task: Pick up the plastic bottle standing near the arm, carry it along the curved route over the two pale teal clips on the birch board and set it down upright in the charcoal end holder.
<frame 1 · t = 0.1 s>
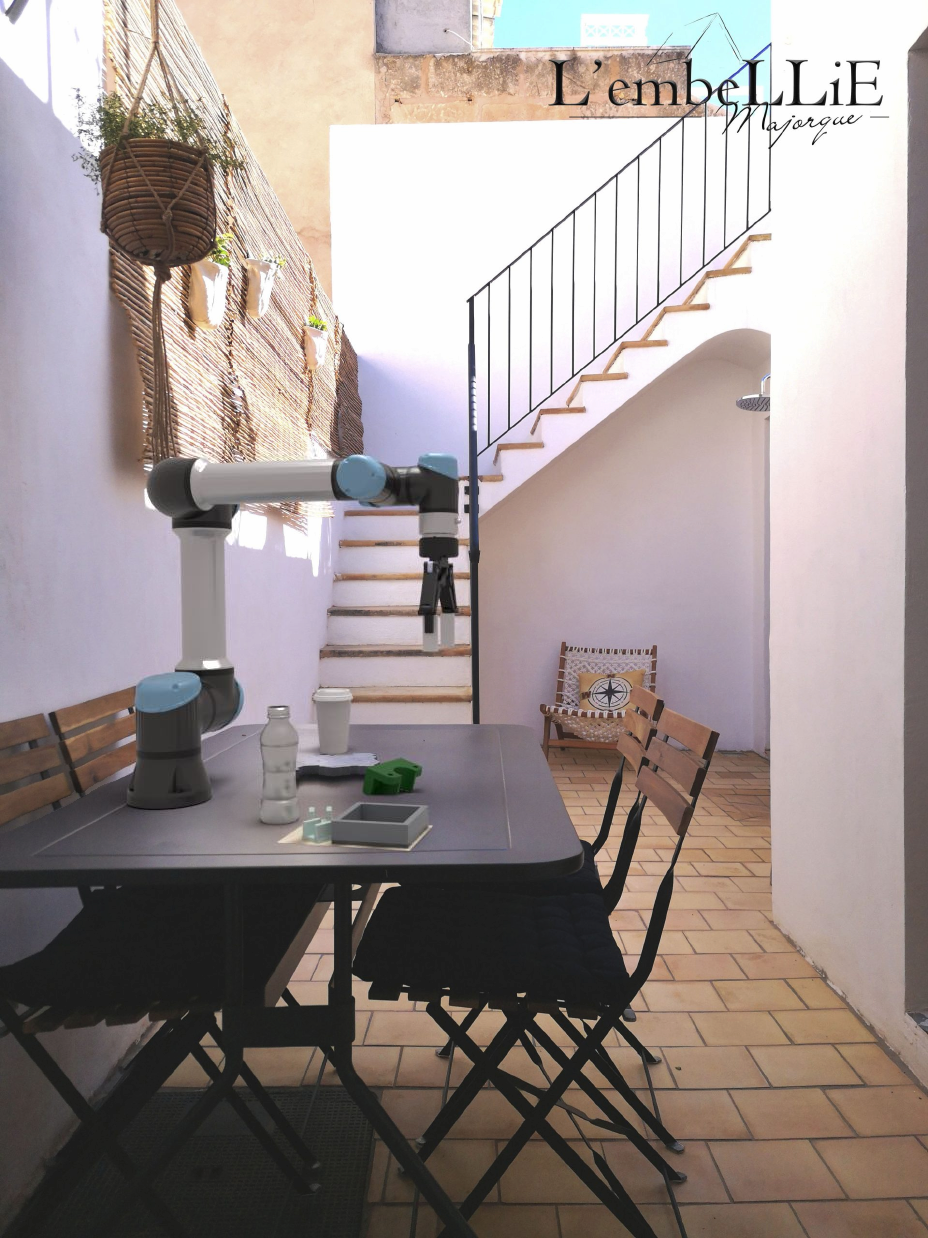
hand: (439, 649, 168), 28 cm above the table, fingers open, 13 cm apart
coffee cup: (333, 752, 215), on the table
board: (357, 840, 139), on the table
clamp: (393, 795, 171), on the table
plastic bottle: (280, 827, 148), on the table
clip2: (317, 839, 136), resting on board
holder: (381, 835, 138), resting on board
clip1: (320, 825, 144), resting on board
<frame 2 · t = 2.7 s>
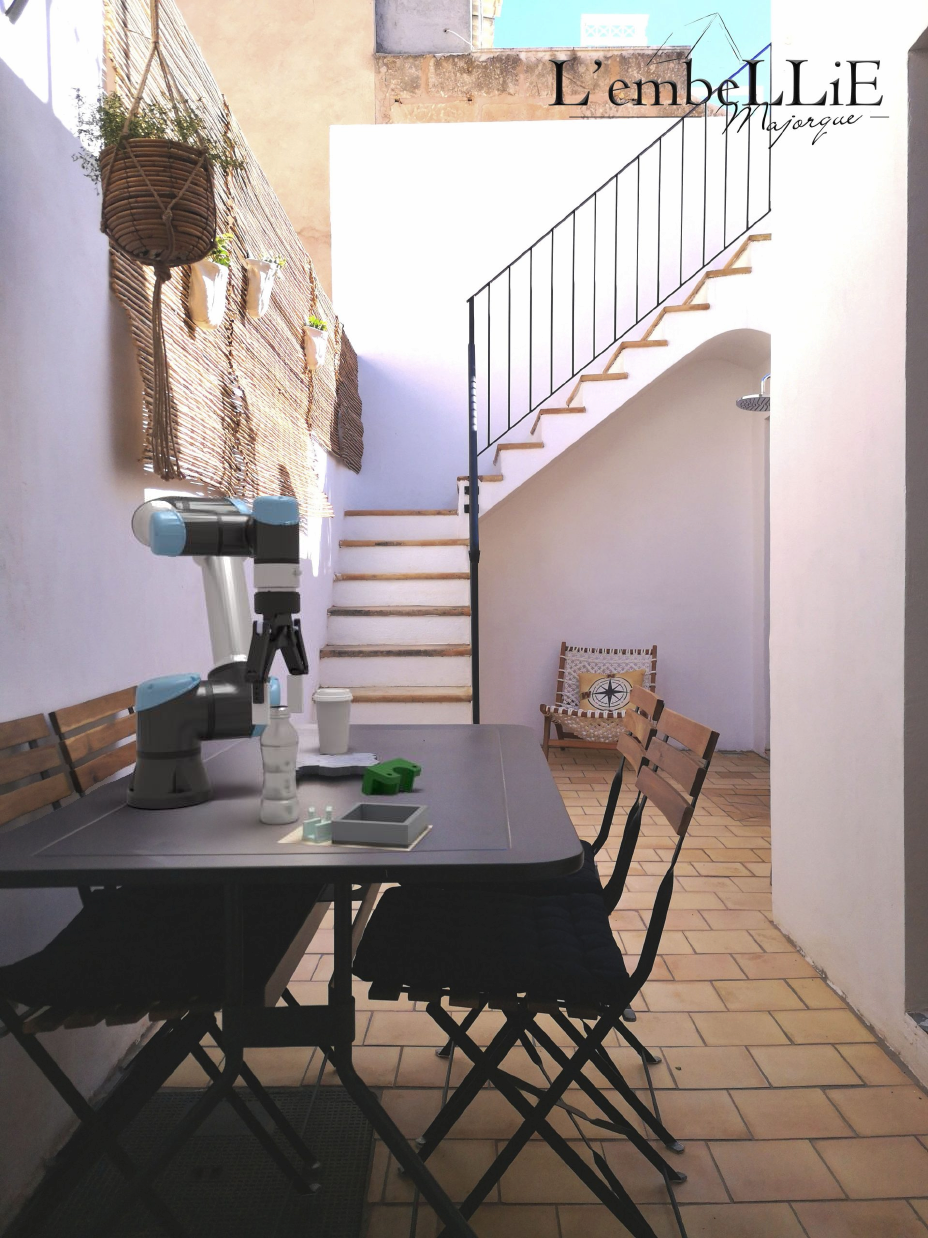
hand: (279, 718, 147), 18 cm above the table, fingers open, 13 cm apart
nothing on the table moved.
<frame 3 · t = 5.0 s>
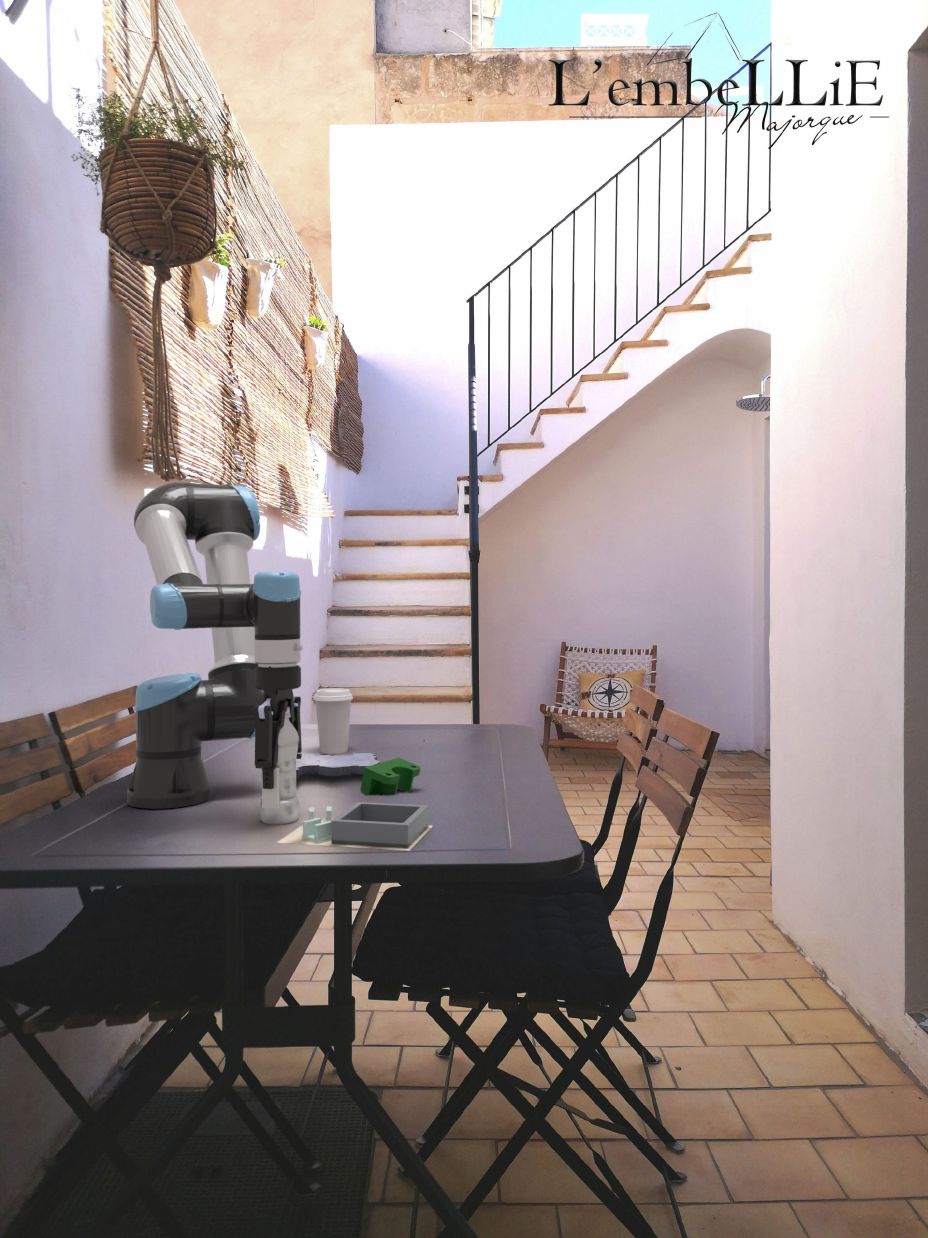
hand: (279, 802, 148), 4 cm above the table, fingers closed on plastic bottle, 6 cm apart
plastic bottle: (280, 827, 148), on the table, touching gripper
everything else where it was.
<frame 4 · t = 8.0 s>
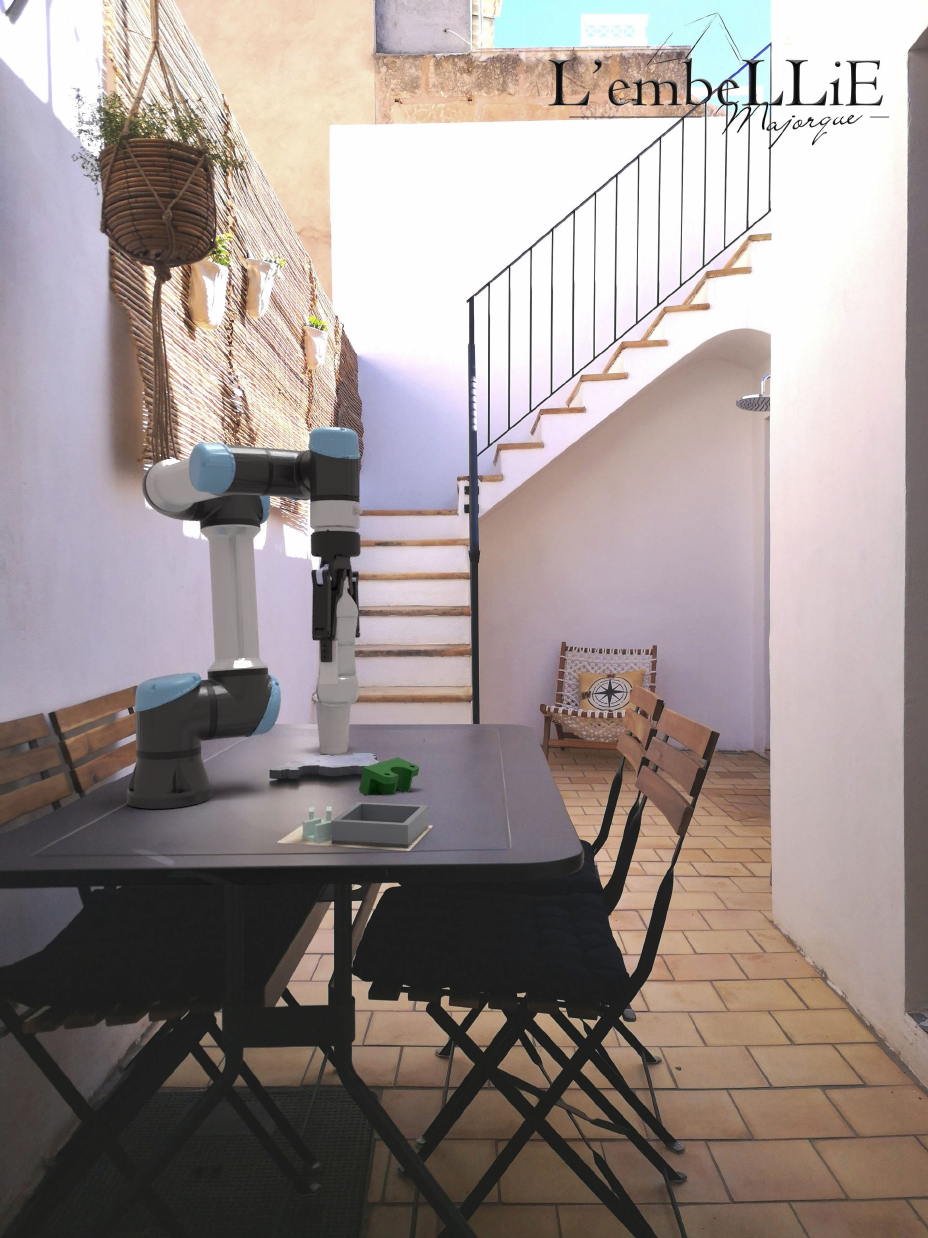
hand: (337, 681, 136), 25 cm above the table, fingers closed on plastic bottle, 6 cm apart
plastic bottle: (337, 708, 136), point 21 cm above the table, touching gripper
everything else where it was.
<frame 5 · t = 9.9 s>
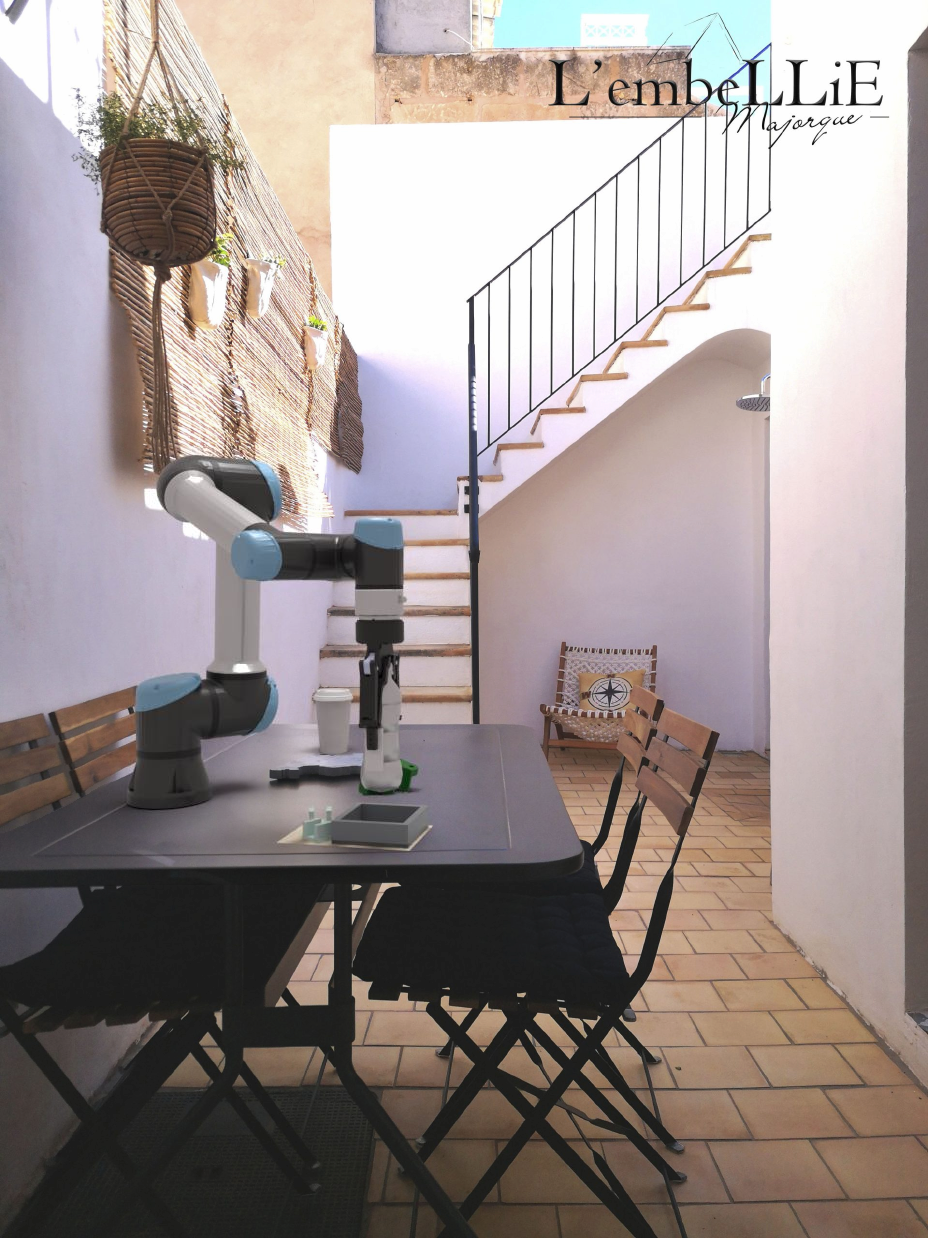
hand: (381, 766, 138), 12 cm above the table, fingers closed on plastic bottle, 6 cm apart
plastic bottle: (381, 792, 138), point 8 cm above the table, touching gripper
everything else where it was.
when the fingers open (7 cm above the table, at t = 11.4 s): plastic bottle drops 1 cm, resting on holder.
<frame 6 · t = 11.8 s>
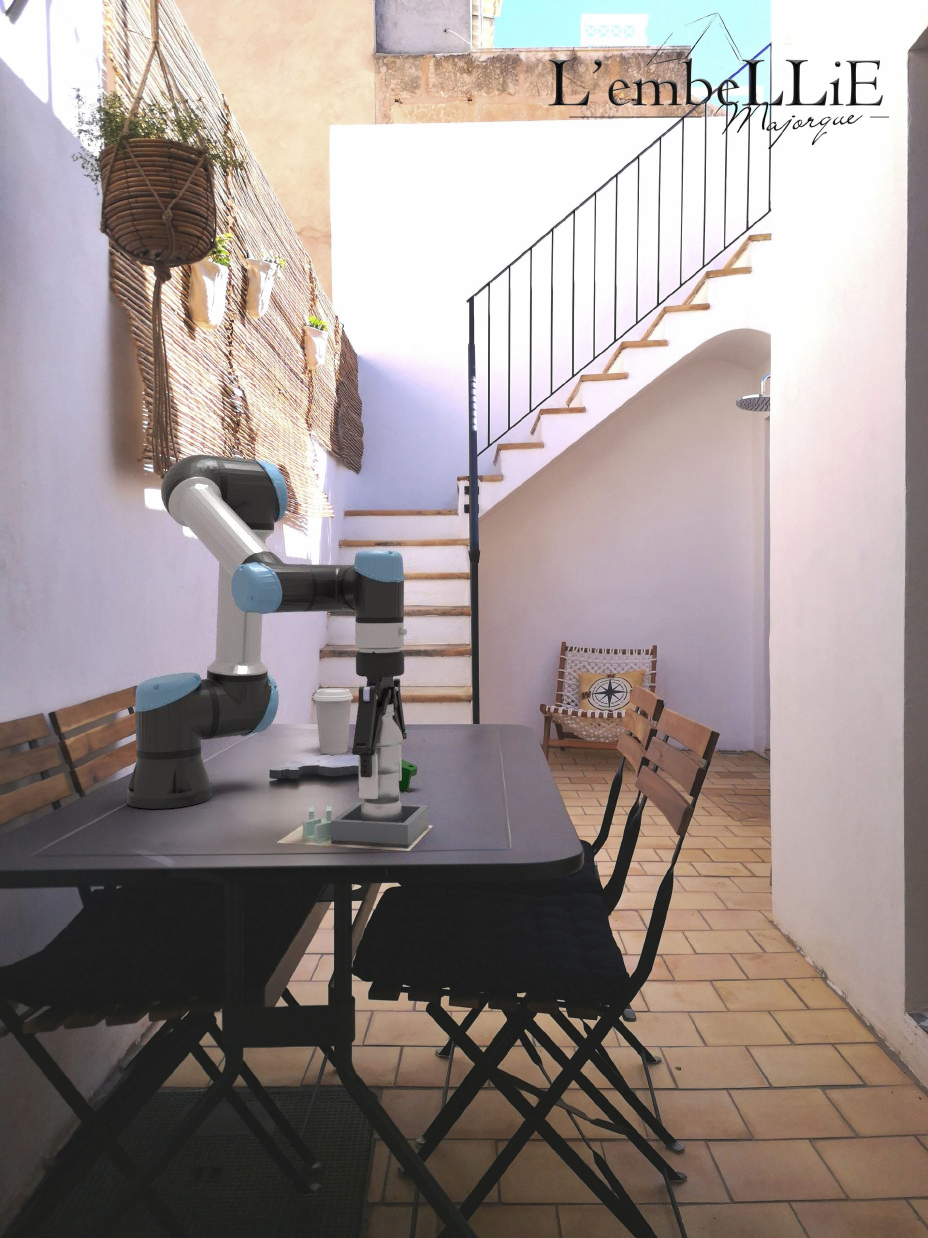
hand: (381, 788, 138), 8 cm above the table, fingers open, 12 cm apart
plastic bottle: (381, 832, 138), point 1 cm above the table, touching holder
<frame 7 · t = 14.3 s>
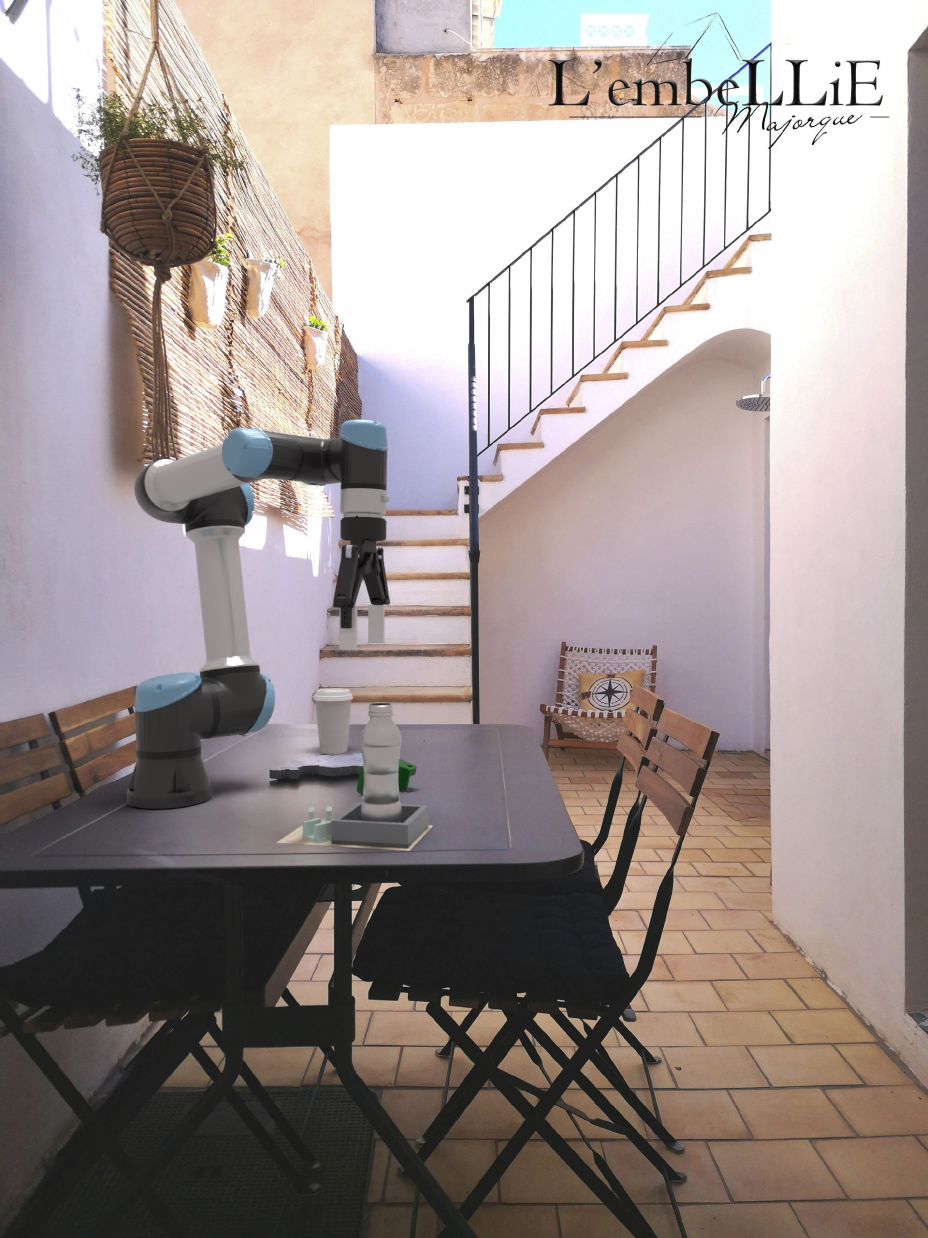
hand: (362, 646, 146), 30 cm above the table, fingers open, 13 cm apart
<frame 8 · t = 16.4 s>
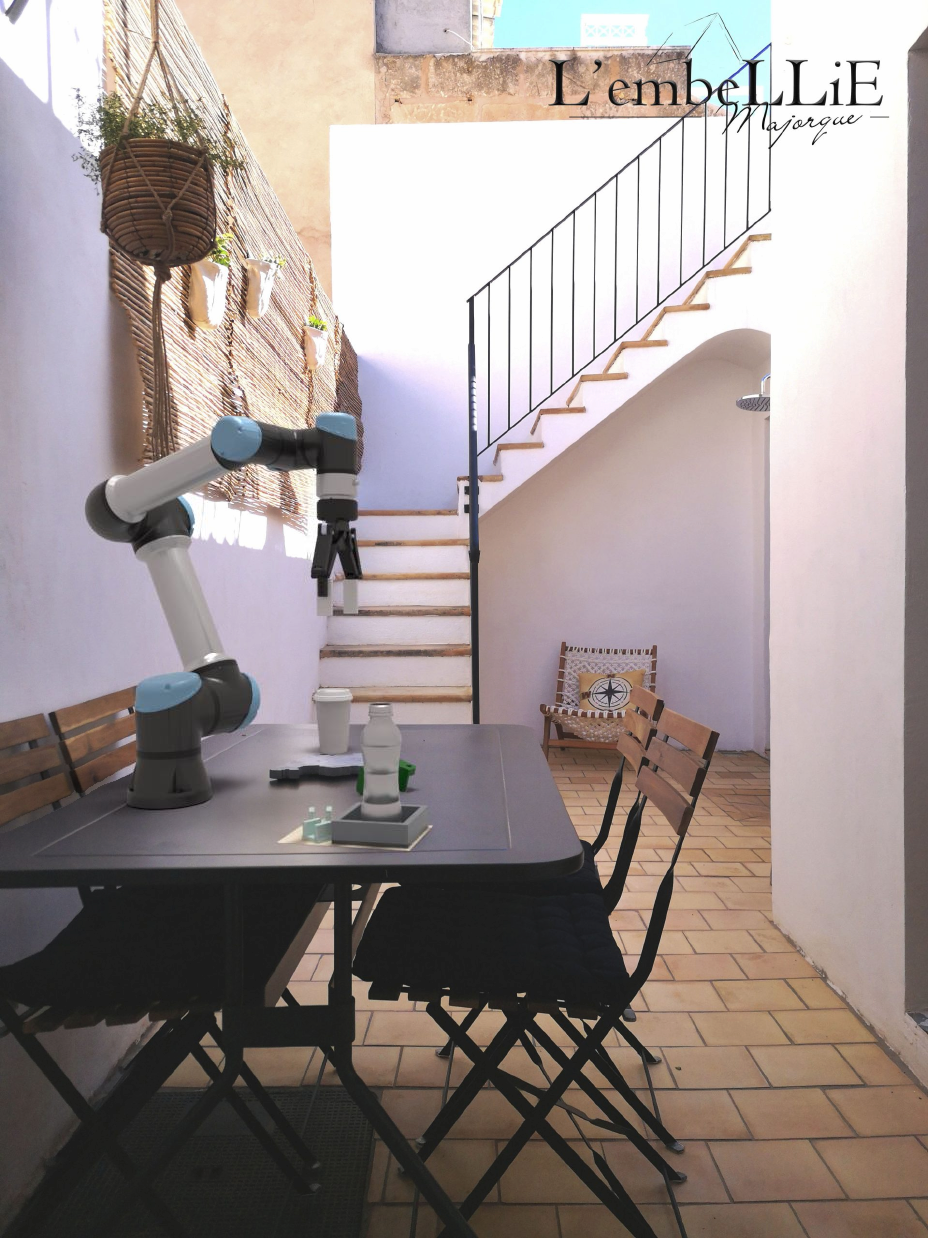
hand: (338, 614, 164), 35 cm above the table, fingers open, 13 cm apart
at the end: plastic bottle inside the target area on the holder (0.0 cm from its centre), point 0.4 cm above the holder's base; plastic bottle tilted 0°; the gripper is holding nothing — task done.
